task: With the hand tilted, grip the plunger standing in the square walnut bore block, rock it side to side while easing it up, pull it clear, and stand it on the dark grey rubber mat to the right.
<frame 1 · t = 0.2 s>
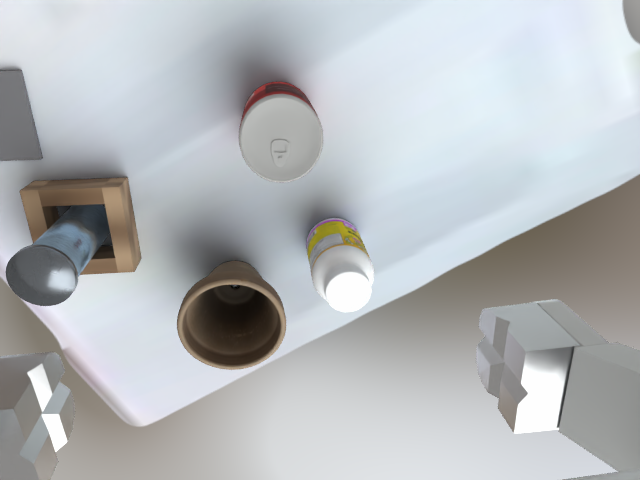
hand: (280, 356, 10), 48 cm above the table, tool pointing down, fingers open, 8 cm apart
supplement bottle: (332, 240, 62), on the table
plunger: (68, 246, 51), in the bore block
canned food: (278, 118, 55), on the table
flower pot: (237, 281, 63), on the table
bore block: (89, 221, 57), on the table
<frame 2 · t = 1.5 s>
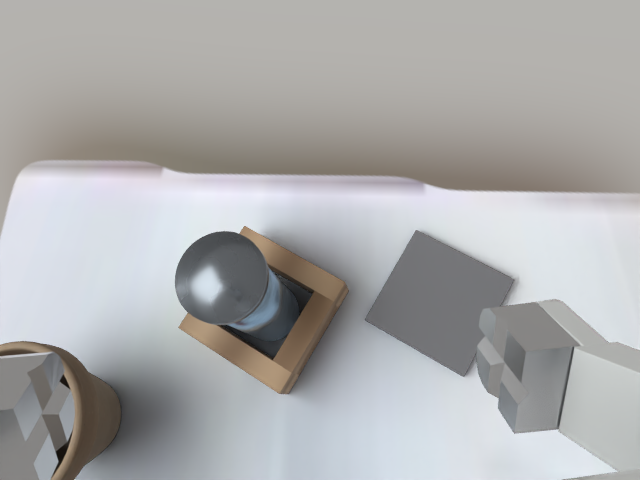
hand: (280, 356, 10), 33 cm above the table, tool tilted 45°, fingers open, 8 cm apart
plunger: (249, 297, 37), in the bore block
mat: (438, 300, 42), on the table
flower pot: (88, 420, 44), on the table
bore block: (270, 312, 44), on the table
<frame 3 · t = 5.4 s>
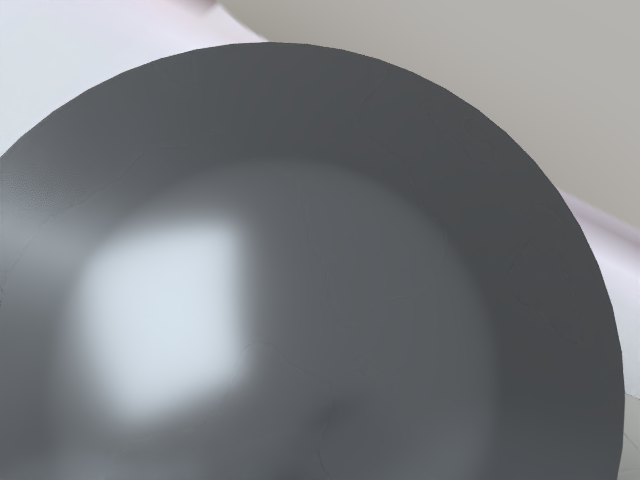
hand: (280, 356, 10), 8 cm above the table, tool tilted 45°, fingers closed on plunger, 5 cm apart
plunger: (284, 393, 11), in the bore block, touching gripper
when the fingers open (9 cm above the table, at t = 12.8 s): plunger stays where it is, resting on mat.
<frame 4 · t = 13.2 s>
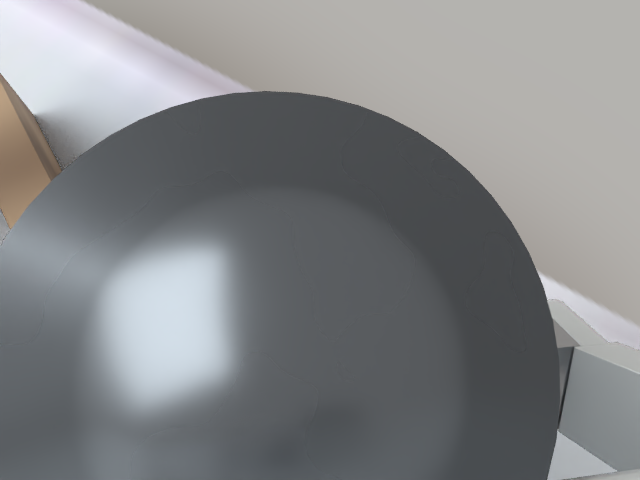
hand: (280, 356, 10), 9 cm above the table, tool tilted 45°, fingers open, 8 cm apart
plunger: (282, 394, 11), on the mat, point 8 cm above the table
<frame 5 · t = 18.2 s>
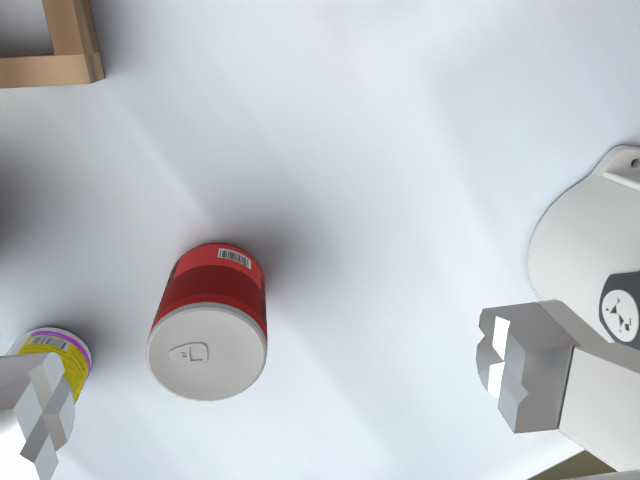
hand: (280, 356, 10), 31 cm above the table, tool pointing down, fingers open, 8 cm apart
supplement bottle: (55, 354, 45), on the table
canned food: (218, 279, 44), on the table
bore block: (12, 4, 34), on the table
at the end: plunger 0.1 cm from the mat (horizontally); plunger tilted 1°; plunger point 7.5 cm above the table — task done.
